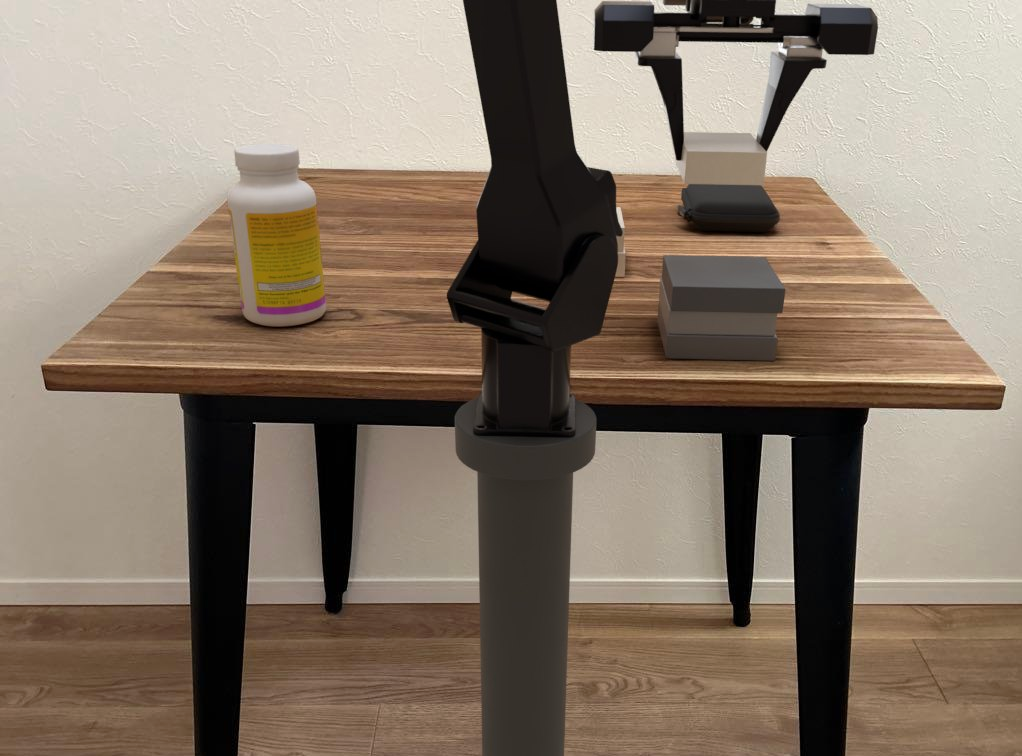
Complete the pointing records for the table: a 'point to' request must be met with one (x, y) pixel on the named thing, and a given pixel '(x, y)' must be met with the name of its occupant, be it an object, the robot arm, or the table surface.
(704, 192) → the carrying case
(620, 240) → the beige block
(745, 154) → the beige rectangular block
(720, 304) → the grey lidded box
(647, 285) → the table surface
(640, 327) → the table surface
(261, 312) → the supplement bottle
